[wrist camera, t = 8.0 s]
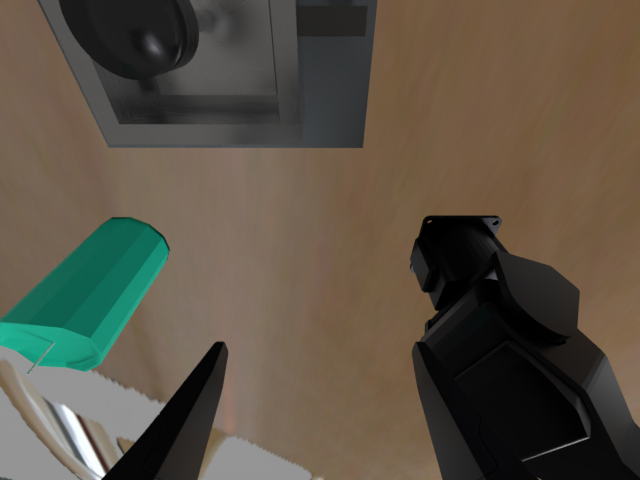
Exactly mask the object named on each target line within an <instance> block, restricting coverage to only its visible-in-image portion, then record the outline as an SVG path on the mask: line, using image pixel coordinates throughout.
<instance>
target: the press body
mask: <svg viewBox="0 0 640 480" xmlns="http://www.w3.org/2000/svg"><path fill="white" fill-rule="evenodd" d="M40 2H41V4H42V6H43V8H44V11H45V13H46V15H47V17H48V19H49V21H50V23H51V25H52V27H53V29H54V31H55V33H56V35H57V38H58V40H59V42H60V44H61V46H62V48H63V50H64V52H65V54H66V56H67V58H68V60H69V63H70V65H71V67H72V69H73V71H74V73H75V75H76V77H77V79H78V81H79V83H80V85H81V87H82V90H83V92H84V94H85V96H86V98H87V100H88V102H89V104H90V106H91V108H92V110H93V112H94V114H95V117H96V119H97V121H98V123H99V125H100V127H101V129H102V131H103V133H104V135H105V137H106V139H107V142H108V144H169V145H301V144H302V137H303V131H304V124H305V86H304V54H303V36H365V33H366V21H367V9H368V6H302V0H270V9H271V20H272V32H273V44H274V55H275V67H276V79H277V90H278V94H277V95H161V92H160V89H159V86H158V83H157V80H156V77H152V78H148V79H144V80H131V79H126V78H123V77H120V76H117V75H115V74H113V73H111V72H109V71H108V70H106V69H105V68H103V67H102V66H100V65H99V64H98V63H97V62H95V61H94V60H93V59H92V58H91V57H90V56H89V55H88V54H87V53H86V52H85V51H84V50H83V48H82V47H81V46H80V45H79V43H78V42H77V41H76V39H75V38H74V36H73V35H72V33H71V31H70V30H69V28H68V26H67V24H66V22H65V19H64V17H63V14H62V11H61V8H60V5H59V0H40Z"/></svg>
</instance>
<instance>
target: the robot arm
mask: <svg viewBox="0 0 640 480" xmlns="http://www.w3.org/2000/svg"><path fill="white" fill-rule="evenodd" d="M428 221H431V222H429V223H428ZM494 221H495V222H494ZM493 222H494V223H493ZM501 223H502V219H501V218H500V217H499V216H496V215H429V216H426V217H425V218H424V219H423V222H422V225H421V229H420V232H419V236H418V237H417V238H416V239H415V242H414V246H413V249H412V253H411V256H410V261H411V264H410V270H411V272H412V273H415V275H416V277H417V280H418V283H419V285H420V288H421V290H422V291H423V292H424V293H428V294H429V296H430V299H431V302H432V304H433V307H434V309H435V310H436V311H438V312H437V313H436V314H435V315H434V316H433V318H432V319H429V320H428V321H427V322H426V323H425V334H424V336H423V337H422V338H421V339H420V341H416V342H415V344H414V346H413V349H412V360H413V366H414V372H415V378H416V384H417V389H418V393H419V397H420V400H421V404H422V407H423V411H424V415H425V418H426V422H427V426H428V429H429V433H430V436H431V440H432V444H433V447H434V451H435V454H436V458H437V462H438V465H439V469H440V473H441V476H442V480H539V479H541V480H640V427H639V426H638V425H637V424H636V423H635V422H634V420H633V418H632V416H631V413H630V411H629V409H628V406H627V404H626V401H625V399H624V396H623V394H622V392H621V389H620V387H619V384H618V382H617V379H616V377H615V374H614V372H613V370H612V367H611V365H610V362H609V360H608V358H607V356H606V354H605V353H604V352H603V351H602V350H601V349H600V348H599V347H598V346H597V345H595V344H594V343H593V342H592V341H591V340H590V339H589V338H588V337H587V336H586V335H584V334H583V333H582V332H581V331H580V330H579V329H578V328H577V327H578V312H579V298H580V291H579V289H578V288H577V287H576V286H575V285H573V284H572V283H571V282H570V281H569V280H567V279H566V278H565V277H564V276H563V275H561V274H560V273H559V272H558V271H557V270H555V269H554V268H553V267H551V266H549V265H546V264H543V263H540V262H536V261H533V260H529V259H526V258H523V257H519V256H516V255H512V254H510V253H509V252H508V251H507V250H506V248H505V247H504V246H503V245H502V244H501V242H500V241H499V240H498V239H497V237H496V236H495V235H496V233H497V231H498V229H499V227H500V225H501ZM227 360H228V349H227V346H226V344H225V342H224V341H217V342H215V343H214V344H213V345H212V347H211V348H210V349H209V350H208V352H207V353H206V354H205V355H204V357H203V358H202V359H201V361H200V362H199V363H198V364H197V366H196V367H195V368H194V369H193V371H192V372H191V373H190V375H189V376H188V377H187V378H186V380H185V381H184V382H183V383H182V385H181V386H180V387H179V389H178V390H177V391H176V392H175V394H174V395H173V396H172V397H171V399H170V400H169V401H168V403H167V404H166V405H165V406H164V408H163V409H162V410H161V411H160V413H159V414H158V415H157V416H156V418H155V419H154V420H153V422H152V423H151V424H150V425H149V426H148V428H147V429H146V430H145V431H144V433H143V434H142V435H141V436H140V437H139V438H138V439H137V441H136V442H135V443H134V444H133V445H132V446H131V447H130V448H129V450H128V451H127V452H126V453H125V454H124V455H123V456H122V457H121V458H120V459H119V460H118V462H117V463H116V464H115V465H114V466H113V467H112V468H111V469H110V470H109V471H108V472H107V473H106V475H105V476H104V477H103V478H102V479H101V480H198V476H199V473H200V469H201V465H202V462H203V458H204V454H205V451H206V447H207V444H208V440H209V436H210V433H211V429H212V426H213V422H214V418H215V415H216V411H217V407H218V404H219V400H220V397H221V393H222V389H223V384H224V378H225V372H226V366H227ZM538 478H539V479H538Z"/></svg>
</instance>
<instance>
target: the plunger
mask: <svg viewBox="0 0 640 480" xmlns="http://www.w3.org/2000/svg"><path fill="white" fill-rule="evenodd" d="M59 5H60V8H61V11H62V14H63V17H64V19H65V22H66V24H67V26H68V28H69V30H70V31H71V33H72V35H73V36H74V38H75V39H76V41H77V42H78V43H79V45H80V46H81V47H82V48H83V50H84V51H85V52H86V53H87V54H88V55H89V56H90V57H91V58H92V59H93V60H94V61H95V62H97V63H98V64H99V65H100V66H102V67H103V68H105V69H106V70H108V71H109V72H111V73H113V74H115V75H117V76H120V77H123V78H126V79H131V80H144V79H148V78H152V77H156V80H157V83H158V86H159V89H160V92H161V95H277V94H278V90H277V79H276V67H275V55H274V44H273V32H272V20H271V9H270V0H59Z"/></svg>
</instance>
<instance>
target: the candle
mask: <svg viewBox="0 0 640 480" xmlns="http://www.w3.org/2000/svg"><path fill="white" fill-rule="evenodd" d="M169 252H170V248H169V246H168V243H167V241H166V239H165V237H164V236H163V235H162V234H161V233H160V232H158V231H157V230H156V229H155V228H154V227H152V226H151V225H150V224H148V223H145V222H143V221H140V220H137V219H134V218H132V217H112V218H110V219H109V220H107V221H106V222H105V223H103V224H102V225H100V226H99V227H98V228H97V229H96V230H95V231H94V232H93V233H92V234H91V235H90V236H89V237H88V238H87V239H85V240H84V241H83V242H82V243H81V244H80V245H79V246H78V247H77V248H76V249H75V250H74V251H73V252H72V253H70V254H69V255H68V256H67V257H66V258H65V259H64V260H63V261H62V262H61V263H60V264H59V265H58V266H57V267H55V268H54V269H53V270H52V271H51V272H50V273H49V274H48V275H47V276H46V277H45V278H44V279H43V280H42V281H40V282H39V283H38V284H37V285H36V286H35V287H34V288H33V289H32V290H31V291H30V292H29V293H28V294H27V295H25V296H24V297H23V298H22V299H21V300H20V301H19V302H18V303H17V304H16V305H15V306H14V307H13V308H11V309H10V310H9V311H8V312H7V313H6V314H5V315H4V316H3V317H2V318H1V319H0V346H3V347H6V348H9V349H12V350H15V351H17V352H18V353H19V354H21V355H22V356H24V357H25V358H27V359H28V360H29V361H31V362H32V363H34V365H33V366H32V367H31V369H30V370H29V371H28V372H27V373H26V374H27V375H29V374H30V373H31V372H32V370H33V369H34V368H35V367H36V366H45V367H63V368H70V369H74V370H79V371H83V372H87V371H89V370H91V369H93V368H95V367H97V366H99V365H100V364H101V363H102V361H103V360H104V358H105V357H106V355H107V353H108V352H109V350H110V349H111V347H112V346H113V344H114V342H115V341H116V339H117V338H118V336H119V335H120V333H121V331H122V330H123V328H124V327H125V325H126V324H127V322H128V321H129V319H130V317H131V316H132V314H133V313H134V311H135V310H136V308H137V306H138V305H139V303H140V302H141V300H142V299H143V297H144V295H145V294H146V292H147V291H148V289H149V288H150V286H151V284H152V283H153V281H154V280H155V278H156V277H157V275H158V274H159V272H160V270H161V269H162V267H163V266H164V264H165V263H166V261H167V259H168V255H169Z"/></svg>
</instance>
